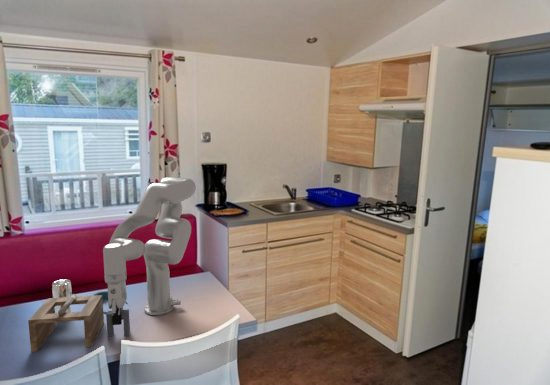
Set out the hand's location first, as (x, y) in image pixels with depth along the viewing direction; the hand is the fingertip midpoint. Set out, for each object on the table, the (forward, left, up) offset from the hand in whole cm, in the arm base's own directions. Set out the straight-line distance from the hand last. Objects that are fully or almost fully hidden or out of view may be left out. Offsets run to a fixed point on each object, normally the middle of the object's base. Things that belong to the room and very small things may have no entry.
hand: (118, 321), depth 146 cm
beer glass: (+26, -20, -6) cm, 33 cm away
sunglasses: (+11, -28, -6) cm, 30 cm away
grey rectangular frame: (0, 0, -5) cm, 5 cm away
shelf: (+18, -2, -5) cm, 19 cm away
